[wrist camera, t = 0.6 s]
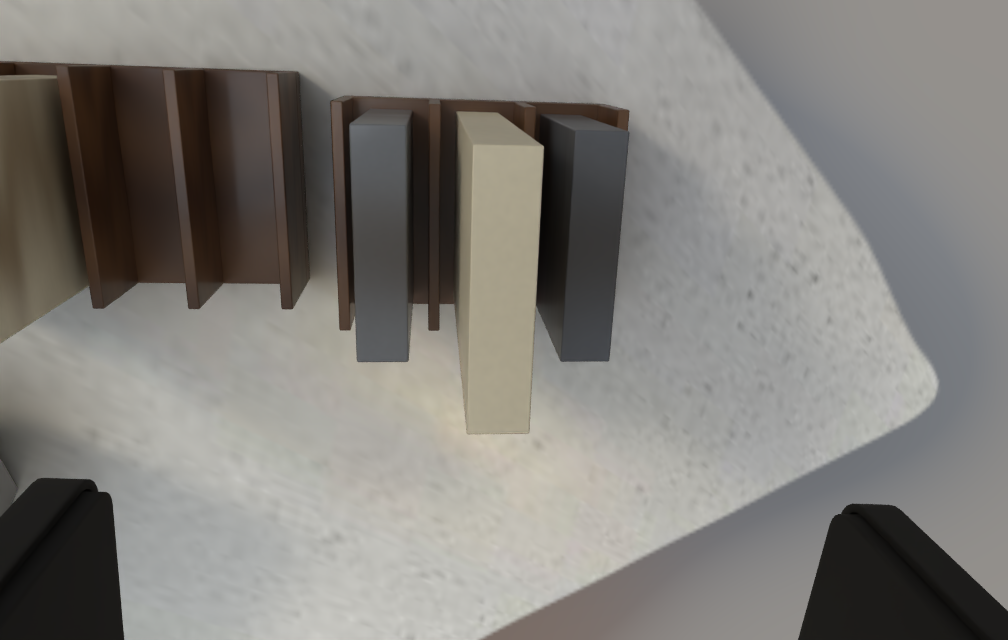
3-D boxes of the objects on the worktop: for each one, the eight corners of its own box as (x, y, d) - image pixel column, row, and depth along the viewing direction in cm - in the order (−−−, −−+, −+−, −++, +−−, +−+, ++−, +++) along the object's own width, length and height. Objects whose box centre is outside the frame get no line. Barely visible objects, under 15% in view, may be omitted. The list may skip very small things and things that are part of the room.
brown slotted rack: (343, 95, 35) (311, 107, 25) (603, 103, 36) (664, 118, 27) (350, 297, 38) (324, 374, 29) (588, 298, 39) (638, 373, 30)
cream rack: (-82, 58, 33) (-524, 53, 17) (299, 71, 34) (195, 77, 19) (-36, 276, 36) (-375, 430, 21) (310, 278, 37) (228, 423, 22)
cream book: (455, 111, 34) (472, 144, 20) (498, 112, 35) (544, 145, 21) (453, 294, 37) (466, 434, 23) (492, 295, 38) (529, 434, 23)
